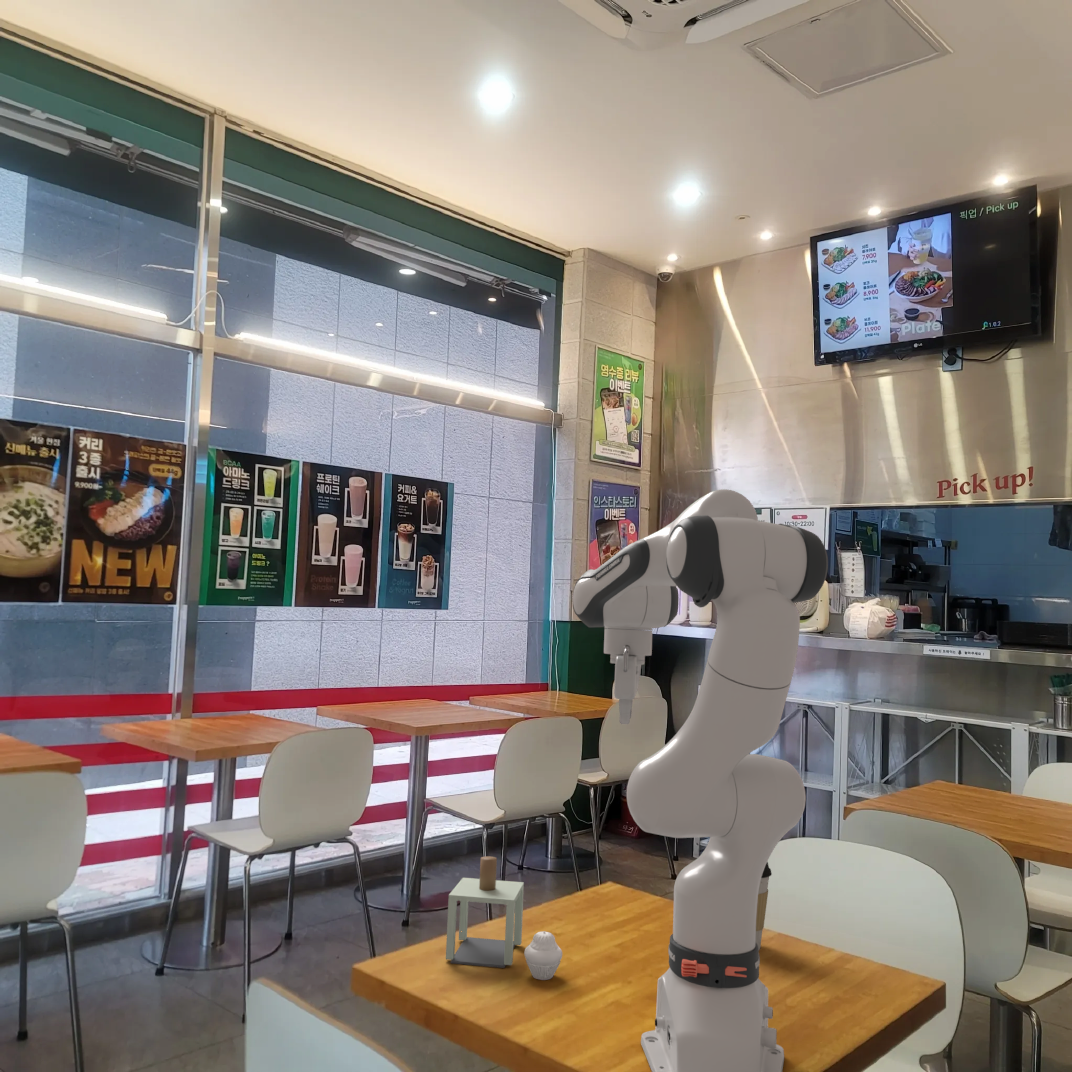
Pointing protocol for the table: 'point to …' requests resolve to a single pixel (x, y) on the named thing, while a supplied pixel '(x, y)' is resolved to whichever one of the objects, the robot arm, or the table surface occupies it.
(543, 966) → the muffin
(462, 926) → the cover
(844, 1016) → the table surface
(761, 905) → the coffee cup
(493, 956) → the mat
